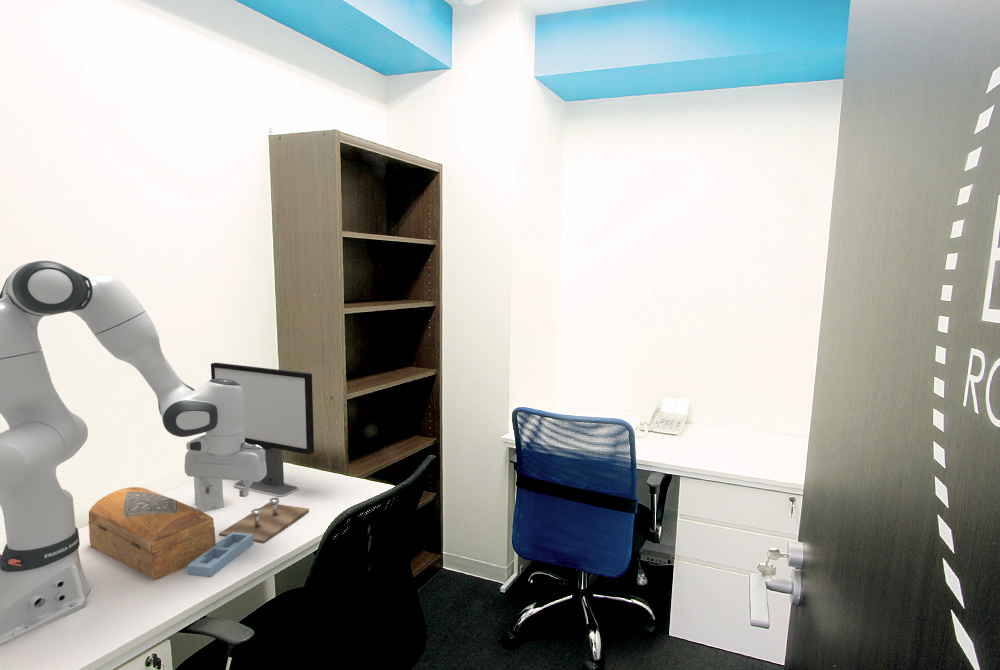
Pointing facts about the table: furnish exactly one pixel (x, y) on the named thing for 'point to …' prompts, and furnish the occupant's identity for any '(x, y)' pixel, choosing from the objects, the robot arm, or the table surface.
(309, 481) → the table surface
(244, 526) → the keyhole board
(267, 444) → the computer monitor
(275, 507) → the steel bosses
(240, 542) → the blue compartment tray
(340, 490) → the table surface
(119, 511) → the wooden box
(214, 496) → the small box
